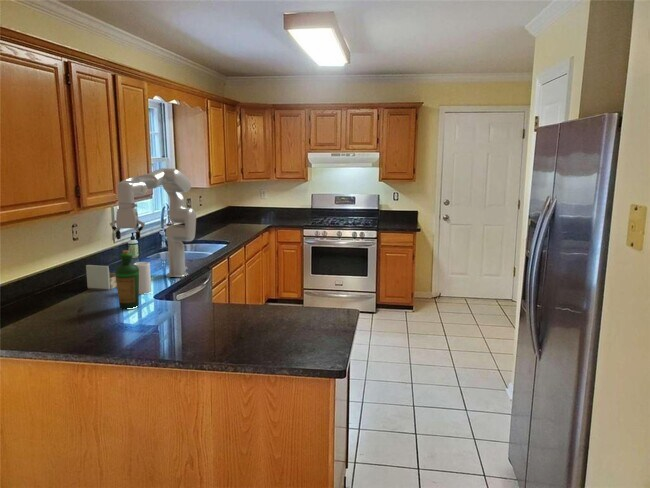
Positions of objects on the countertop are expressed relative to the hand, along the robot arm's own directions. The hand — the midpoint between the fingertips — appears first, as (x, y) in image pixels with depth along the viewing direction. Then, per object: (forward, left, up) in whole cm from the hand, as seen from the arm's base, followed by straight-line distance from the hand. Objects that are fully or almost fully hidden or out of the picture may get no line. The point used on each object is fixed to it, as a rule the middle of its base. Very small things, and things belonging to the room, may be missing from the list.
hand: (128, 239), depth 237 cm
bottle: (+19, +11, -30) cm, 37 cm away
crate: (-11, -22, -30) cm, 38 cm away
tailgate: (-4, -22, -29) cm, 37 cm away
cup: (-6, +3, -30) cm, 31 cm away
